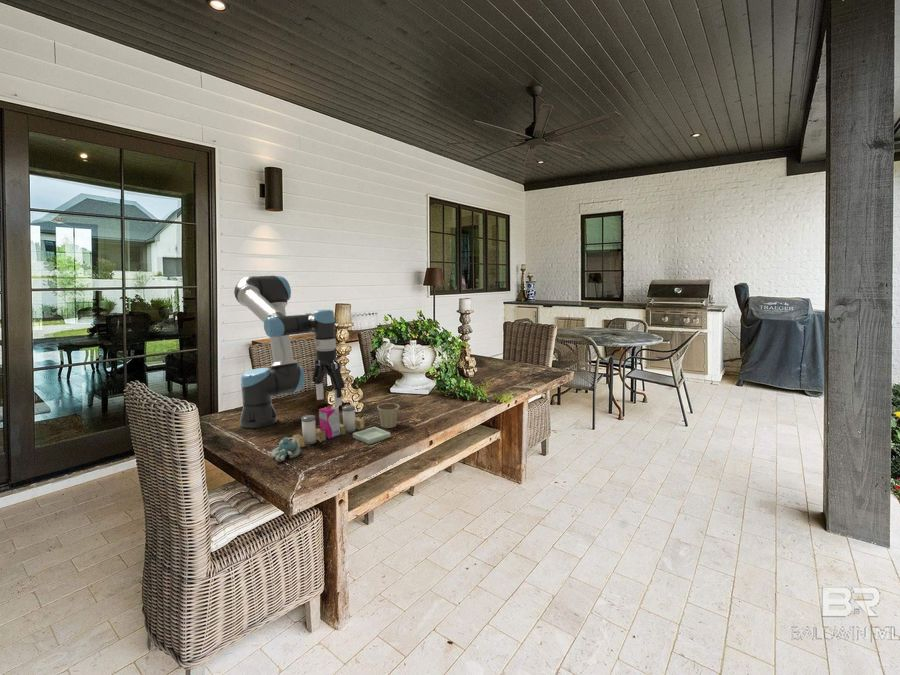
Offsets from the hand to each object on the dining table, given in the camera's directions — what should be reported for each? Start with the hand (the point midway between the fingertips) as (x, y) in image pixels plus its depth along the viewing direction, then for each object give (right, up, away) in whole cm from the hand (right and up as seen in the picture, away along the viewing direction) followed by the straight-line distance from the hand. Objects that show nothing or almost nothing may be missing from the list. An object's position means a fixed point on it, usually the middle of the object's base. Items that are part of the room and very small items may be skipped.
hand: (329, 402), depth 182 cm
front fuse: (-6, -15, -4) cm, 17 cm away
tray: (+17, -14, 0) cm, 22 cm away
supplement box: (0, -14, +2) cm, 14 cm away
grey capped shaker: (+6, -13, +9) cm, 17 cm away
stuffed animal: (-11, -17, -17) cm, 27 cm away
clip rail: (-1, -14, +3) cm, 14 cm away
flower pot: (+22, -12, +13) cm, 28 cm away
